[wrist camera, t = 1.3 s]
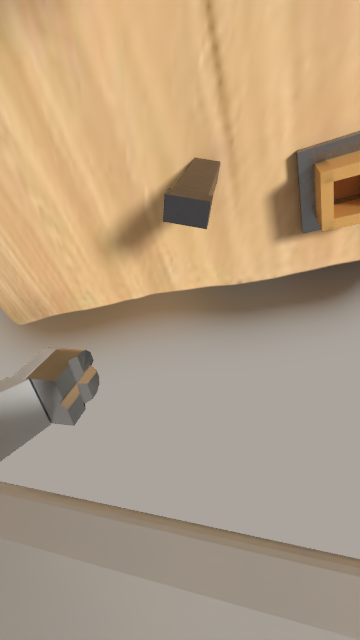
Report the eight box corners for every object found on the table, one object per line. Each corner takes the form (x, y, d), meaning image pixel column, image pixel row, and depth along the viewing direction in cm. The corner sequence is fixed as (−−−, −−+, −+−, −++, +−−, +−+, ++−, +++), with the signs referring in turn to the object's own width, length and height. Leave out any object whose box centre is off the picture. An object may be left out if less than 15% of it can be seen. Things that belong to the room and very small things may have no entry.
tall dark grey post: (189, 178, 45) (163, 221, 32) (191, 157, 43) (164, 193, 30) (219, 183, 45) (206, 229, 31) (223, 162, 43) (211, 201, 29)
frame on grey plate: (301, 229, 47) (307, 247, 42) (296, 150, 40) (302, 161, 35) (394, 209, 42) (413, 226, 38) (406, 116, 35) (430, 122, 31)
